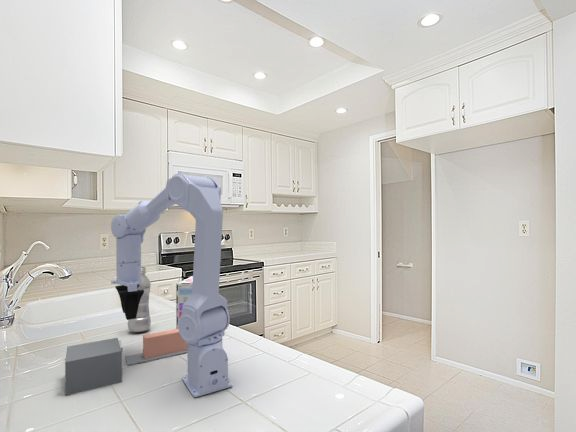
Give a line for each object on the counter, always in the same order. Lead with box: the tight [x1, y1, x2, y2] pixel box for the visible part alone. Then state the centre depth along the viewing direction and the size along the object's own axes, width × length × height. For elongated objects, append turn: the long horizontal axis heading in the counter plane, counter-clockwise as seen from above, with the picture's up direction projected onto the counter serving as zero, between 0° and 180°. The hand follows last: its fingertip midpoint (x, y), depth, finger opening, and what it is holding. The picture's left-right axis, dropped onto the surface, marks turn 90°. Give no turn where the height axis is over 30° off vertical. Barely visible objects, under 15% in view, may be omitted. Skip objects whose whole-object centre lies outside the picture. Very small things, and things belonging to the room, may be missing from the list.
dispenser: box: [64, 337, 124, 396], centre depth 72 cm, size 10×10×6 cm
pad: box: [124, 350, 187, 367], centre depth 84 cm, size 6×14×1 cm, turn 122°
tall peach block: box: [142, 328, 187, 359], centre depth 86 cm, size 3×11×5 cm, turn 123°
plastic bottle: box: [127, 266, 152, 333], centre depth 104 cm, size 6×7×20 cm
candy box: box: [175, 275, 193, 329], centre depth 102 cm, size 14×6×16 cm, turn 179°
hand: (129, 315), depth 84 cm, fingers open, 7 cm apart
